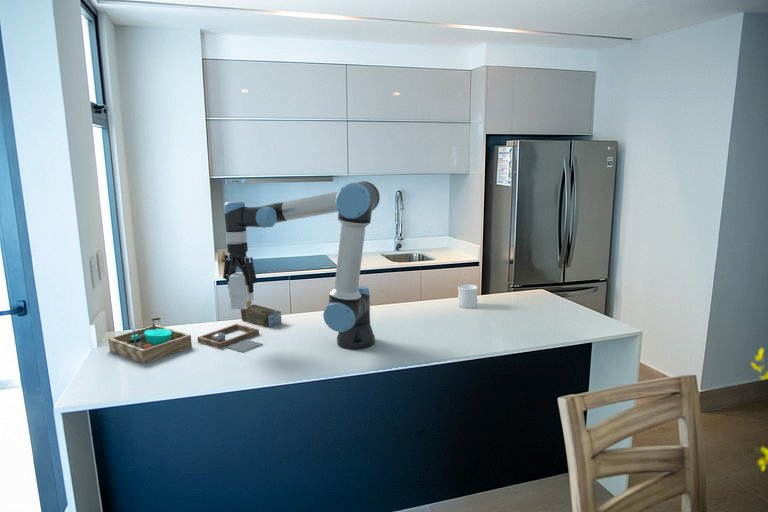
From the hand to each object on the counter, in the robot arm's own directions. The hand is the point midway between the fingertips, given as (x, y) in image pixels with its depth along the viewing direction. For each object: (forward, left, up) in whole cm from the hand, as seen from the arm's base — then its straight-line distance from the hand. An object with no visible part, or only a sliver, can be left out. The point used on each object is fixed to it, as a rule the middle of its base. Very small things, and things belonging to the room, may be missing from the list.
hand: (241, 298), depth 204 cm
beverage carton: (+17, -25, -20) cm, 36 cm away
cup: (-50, -97, -20) cm, 111 cm away
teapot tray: (+29, +22, -19) cm, 41 cm away
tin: (+13, +2, -20) cm, 24 cm away
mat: (0, 0, -19) cm, 19 cm away
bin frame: (+13, -3, -19) cm, 23 cm away
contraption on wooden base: (+29, +22, -20) cm, 41 cm away
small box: (0, 0, -3) cm, 3 cm away
